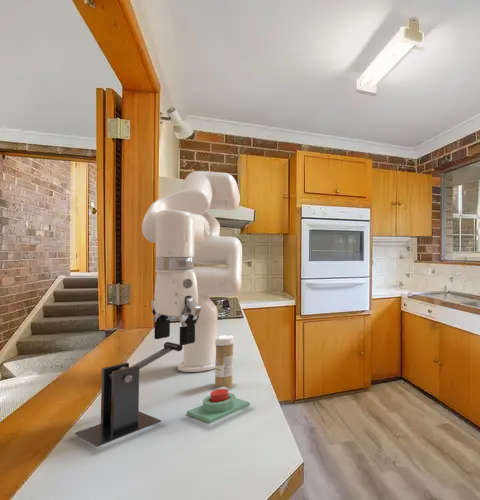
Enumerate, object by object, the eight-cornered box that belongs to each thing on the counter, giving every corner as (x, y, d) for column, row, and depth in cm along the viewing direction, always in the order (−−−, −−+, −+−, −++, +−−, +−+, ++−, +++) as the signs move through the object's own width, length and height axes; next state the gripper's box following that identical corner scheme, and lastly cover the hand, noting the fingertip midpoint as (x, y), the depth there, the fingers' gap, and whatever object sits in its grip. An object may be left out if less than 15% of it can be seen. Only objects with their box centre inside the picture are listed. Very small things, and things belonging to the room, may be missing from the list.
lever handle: (171, 348, 80) (168, 338, 80) (184, 350, 78) (181, 341, 77) (108, 383, 70) (104, 373, 69) (121, 388, 67) (117, 377, 66)
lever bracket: (137, 416, 76) (138, 357, 76) (160, 426, 72) (162, 363, 72) (74, 438, 66) (76, 371, 67) (97, 452, 62) (98, 379, 62)
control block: (226, 402, 83) (226, 387, 83) (249, 409, 79) (250, 394, 80) (186, 419, 75) (186, 402, 75) (210, 428, 71) (210, 410, 71)
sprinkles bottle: (211, 387, 93) (212, 336, 93) (227, 383, 96) (228, 334, 97) (219, 391, 90) (220, 339, 90) (236, 386, 93) (237, 336, 94)
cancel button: (221, 395, 80) (221, 387, 80) (231, 398, 78) (231, 390, 78) (206, 401, 76) (206, 393, 76) (217, 404, 75) (217, 396, 75)
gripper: (214, 265, 78) (213, 342, 78) (169, 263, 87) (169, 332, 86) (181, 267, 71) (180, 350, 71) (137, 264, 80) (136, 339, 80)
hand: (174, 340), depth 79 cm, fingers open, 9 cm apart
